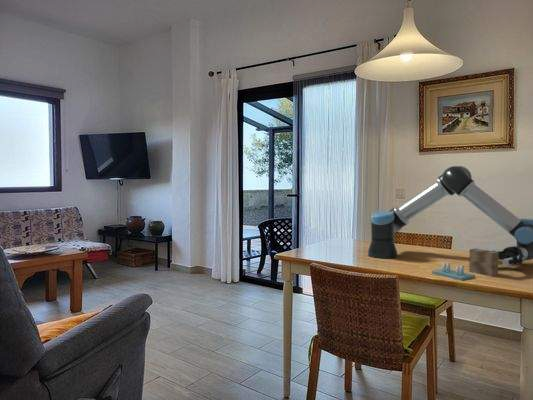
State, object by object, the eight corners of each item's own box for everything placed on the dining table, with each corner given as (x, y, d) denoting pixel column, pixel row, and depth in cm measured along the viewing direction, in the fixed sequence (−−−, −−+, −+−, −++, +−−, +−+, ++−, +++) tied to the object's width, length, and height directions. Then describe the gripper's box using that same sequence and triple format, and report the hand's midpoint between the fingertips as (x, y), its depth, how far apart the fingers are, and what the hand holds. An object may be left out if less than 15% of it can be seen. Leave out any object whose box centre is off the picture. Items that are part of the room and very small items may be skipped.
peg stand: (432, 273, 175) (432, 263, 174) (445, 270, 179) (445, 260, 179) (461, 280, 163) (461, 269, 162) (474, 277, 167) (475, 266, 167)
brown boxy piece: (469, 271, 177) (469, 249, 176) (475, 270, 179) (475, 248, 178) (491, 276, 168) (492, 253, 167) (497, 275, 170) (498, 252, 170)
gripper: (543, 267, 174) (517, 274, 163) (487, 257, 195) (460, 263, 185) (544, 250, 173) (517, 256, 163) (487, 242, 195) (461, 247, 184)
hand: (487, 259), depth 174 cm, fingers open, 13 cm apart
